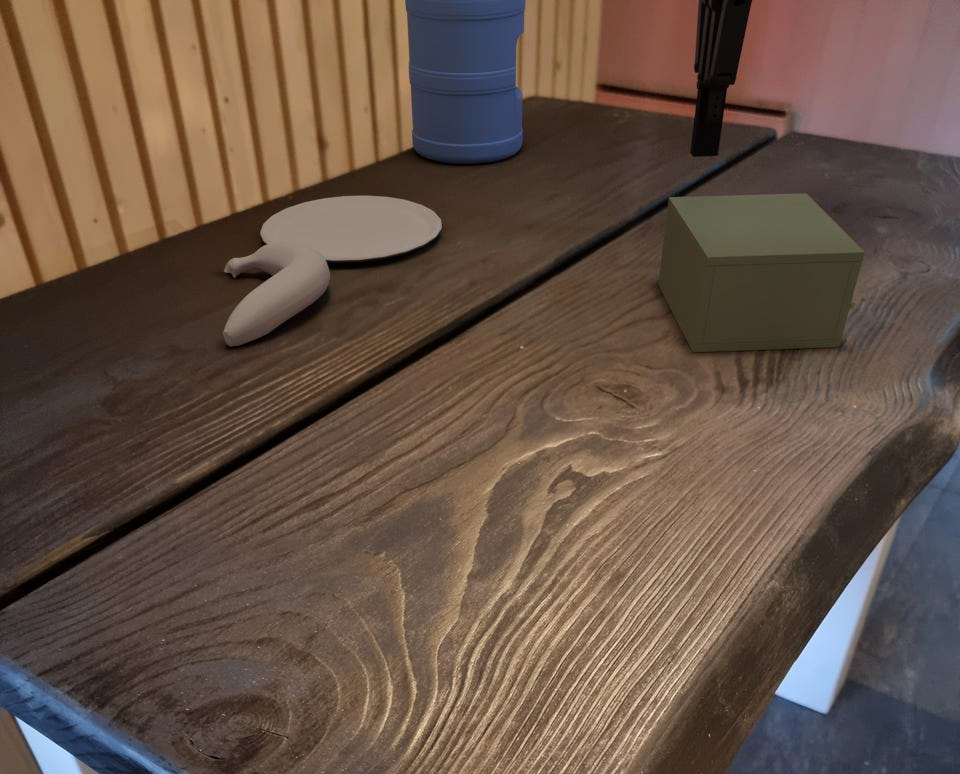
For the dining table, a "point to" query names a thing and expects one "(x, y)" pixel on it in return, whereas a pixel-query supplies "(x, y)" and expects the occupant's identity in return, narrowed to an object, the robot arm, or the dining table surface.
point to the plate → (355, 227)
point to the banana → (276, 289)
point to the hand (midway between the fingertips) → (703, 154)
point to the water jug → (465, 79)
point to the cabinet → (757, 272)
